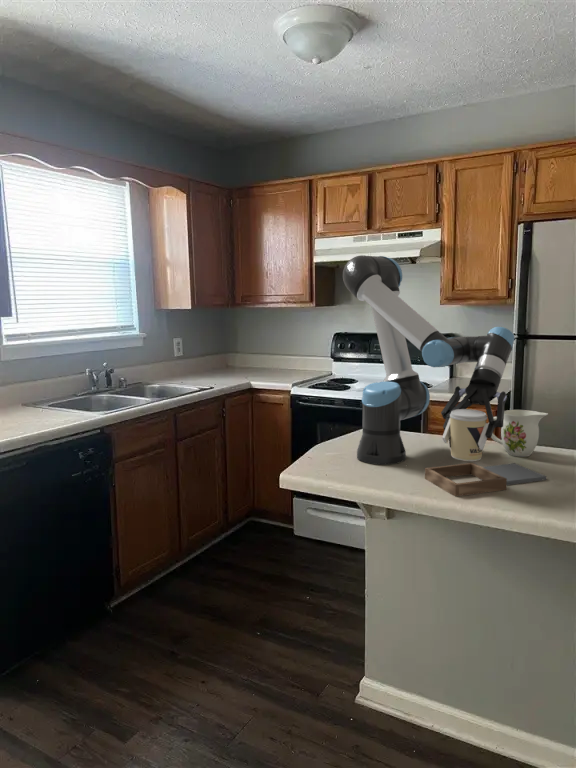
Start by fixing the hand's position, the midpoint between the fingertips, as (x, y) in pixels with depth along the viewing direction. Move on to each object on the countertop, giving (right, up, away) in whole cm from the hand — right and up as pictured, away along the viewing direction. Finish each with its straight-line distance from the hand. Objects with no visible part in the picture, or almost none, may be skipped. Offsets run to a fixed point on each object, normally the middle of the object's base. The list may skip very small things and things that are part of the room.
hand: (462, 443), depth 144 cm
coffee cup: (+2, -4, +3) cm, 6 cm away
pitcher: (+27, -7, +32) cm, 43 cm away
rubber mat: (+17, -10, +11) cm, 22 cm away
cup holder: (+2, -11, +5) cm, 12 cm away
